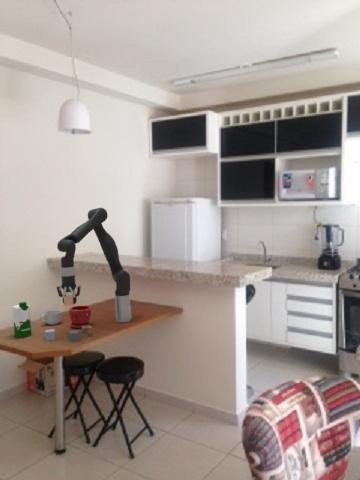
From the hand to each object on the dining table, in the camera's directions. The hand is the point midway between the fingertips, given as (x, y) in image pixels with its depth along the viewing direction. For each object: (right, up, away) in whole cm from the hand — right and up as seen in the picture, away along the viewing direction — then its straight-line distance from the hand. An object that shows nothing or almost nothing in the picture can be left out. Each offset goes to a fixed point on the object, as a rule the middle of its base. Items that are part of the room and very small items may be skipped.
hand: (69, 303), depth 245 cm
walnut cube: (+9, -19, +3) cm, 21 cm away
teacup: (-19, -18, +29) cm, 39 cm away
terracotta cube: (0, 0, 0) cm, 0 cm away
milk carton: (-29, -20, +6) cm, 36 cm away
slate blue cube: (-11, -20, -2) cm, 23 cm away
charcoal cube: (+4, -20, -5) cm, 21 cm away
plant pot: (+2, -18, +22) cm, 28 cm away
